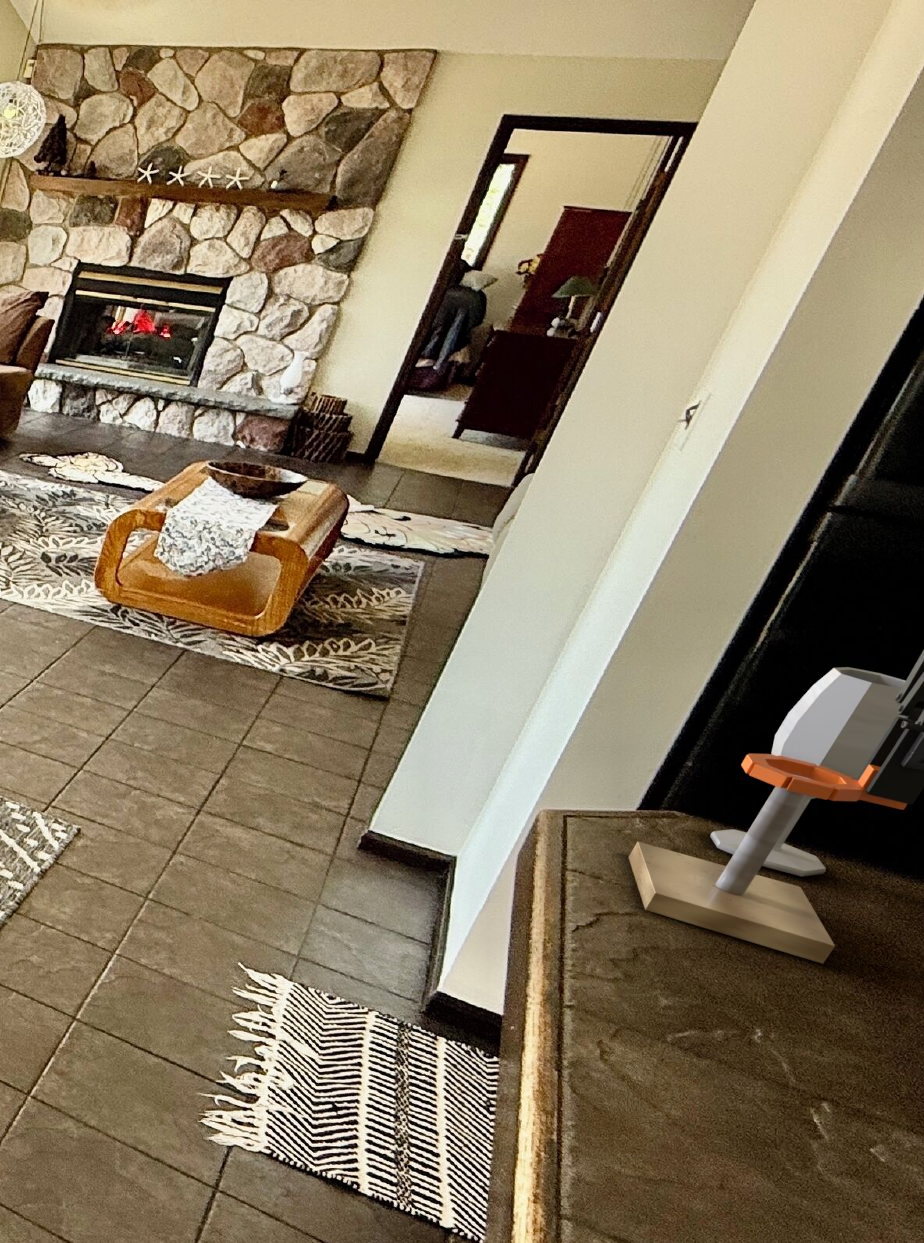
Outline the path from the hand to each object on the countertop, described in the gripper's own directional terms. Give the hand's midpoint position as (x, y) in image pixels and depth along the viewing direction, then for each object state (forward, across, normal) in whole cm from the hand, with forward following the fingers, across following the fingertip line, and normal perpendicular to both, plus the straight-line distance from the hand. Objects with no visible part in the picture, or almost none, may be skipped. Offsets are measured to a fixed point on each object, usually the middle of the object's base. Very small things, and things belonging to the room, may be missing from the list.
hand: (883, 791), depth 105 cm
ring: (+1, 0, -4) cm, 4 cm away
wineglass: (+15, -20, +1) cm, 25 cm away
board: (+15, 0, -5) cm, 16 cm away
